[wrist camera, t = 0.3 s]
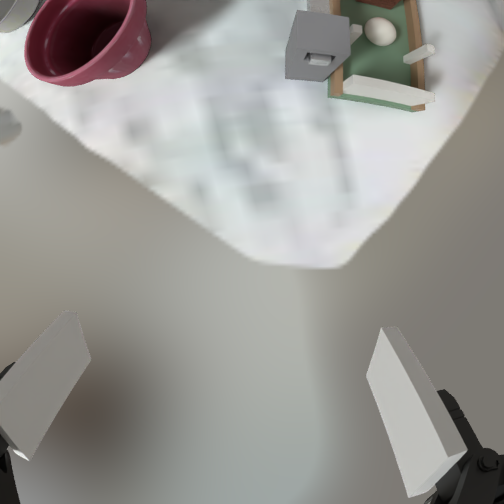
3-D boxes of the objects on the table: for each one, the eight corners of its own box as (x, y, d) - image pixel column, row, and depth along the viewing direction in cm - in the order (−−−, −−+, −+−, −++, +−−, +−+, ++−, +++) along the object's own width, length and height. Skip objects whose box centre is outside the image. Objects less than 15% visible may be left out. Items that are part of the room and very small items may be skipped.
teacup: (53, -23, 23) (29, -37, 16) (42, 23, 27) (13, 12, 19) (3, 7, 23) (-22, 0, 16) (-8, 52, 27) (-35, 47, 20)
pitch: (284, -48, 24) (291, -99, 12) (399, -26, 24) (434, -61, 12) (284, 93, 32) (297, 68, 21) (412, 112, 32) (466, 105, 20)
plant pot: (159, -9, 27) (125, -53, 15) (182, 68, 31) (147, 36, 19) (73, 36, 28) (21, 14, 16) (89, 112, 33) (29, 107, 21)
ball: (359, 20, 27) (369, 9, 23) (387, 27, 27) (400, 17, 23) (361, 46, 28) (371, 36, 24) (389, 52, 28) (402, 44, 24)
